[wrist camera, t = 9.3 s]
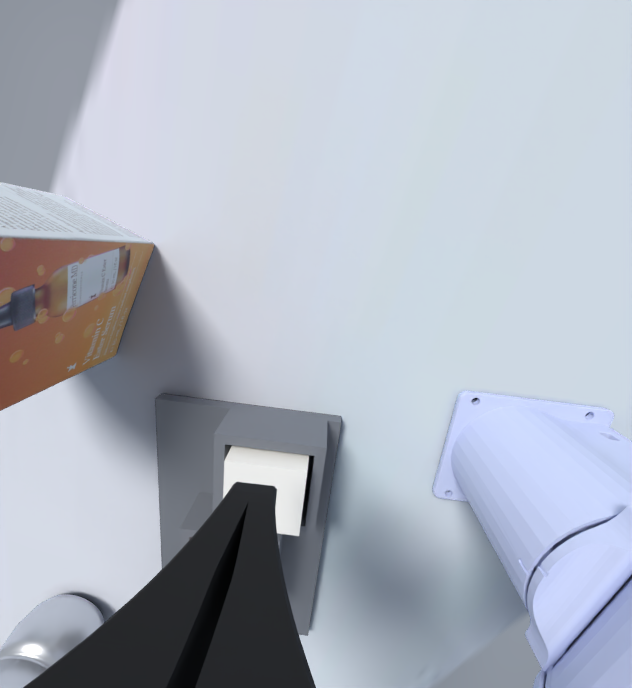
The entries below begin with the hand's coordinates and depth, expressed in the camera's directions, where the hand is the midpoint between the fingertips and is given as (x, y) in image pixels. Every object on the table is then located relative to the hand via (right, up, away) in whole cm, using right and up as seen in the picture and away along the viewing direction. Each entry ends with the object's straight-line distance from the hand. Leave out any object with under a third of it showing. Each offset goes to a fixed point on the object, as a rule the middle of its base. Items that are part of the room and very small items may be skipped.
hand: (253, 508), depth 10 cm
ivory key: (-1, -2, +9) cm, 10 cm away
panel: (-3, -8, +14) cm, 16 cm away
